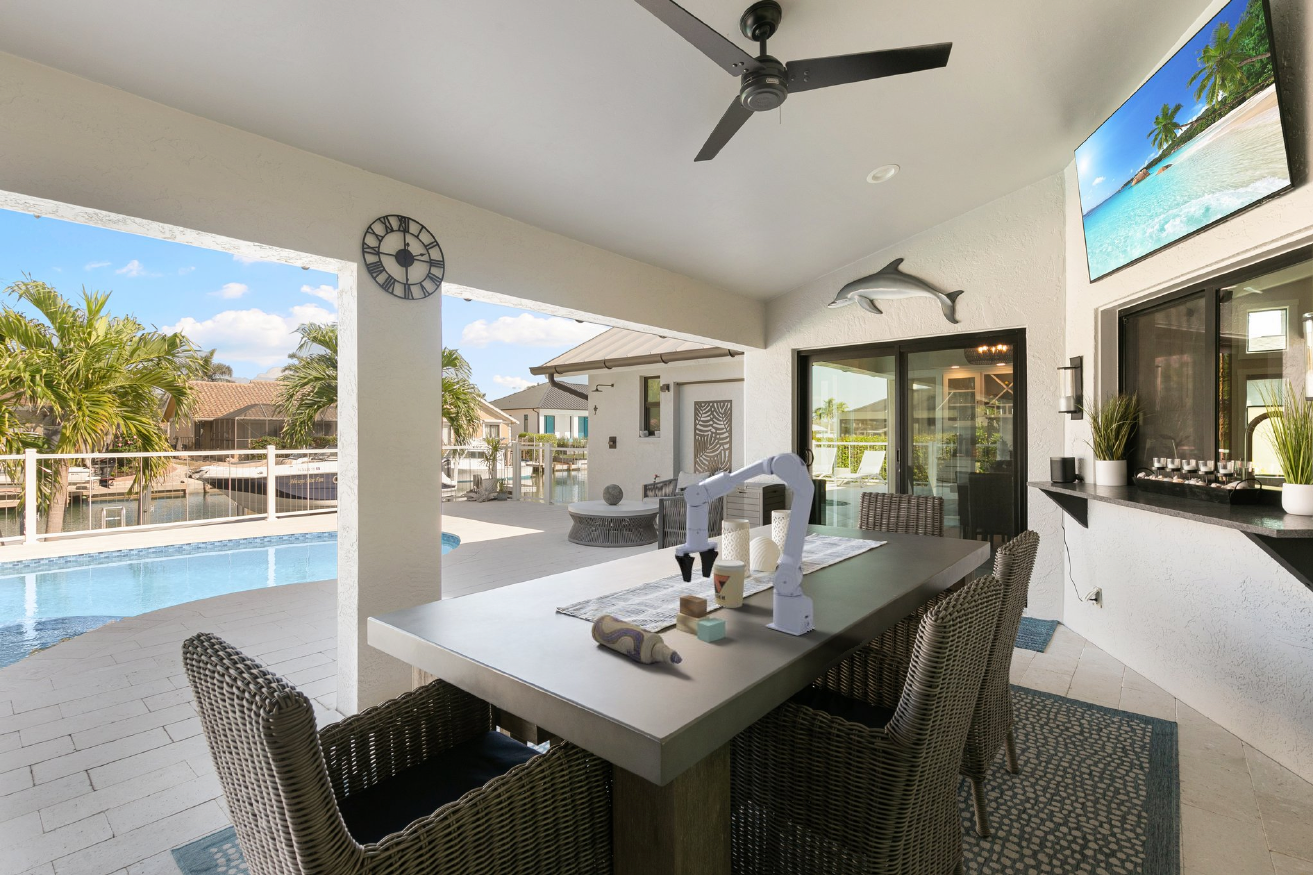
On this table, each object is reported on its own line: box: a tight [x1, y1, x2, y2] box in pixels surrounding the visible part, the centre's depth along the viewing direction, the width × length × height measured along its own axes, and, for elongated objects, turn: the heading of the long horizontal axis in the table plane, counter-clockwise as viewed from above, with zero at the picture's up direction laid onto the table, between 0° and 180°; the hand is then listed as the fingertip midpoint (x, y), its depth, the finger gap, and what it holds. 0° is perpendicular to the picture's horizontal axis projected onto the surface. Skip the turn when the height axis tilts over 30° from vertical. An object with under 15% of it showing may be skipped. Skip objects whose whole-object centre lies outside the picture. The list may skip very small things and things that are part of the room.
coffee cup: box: [712, 559, 747, 609], centre depth 172 cm, size 9×9×12 cm
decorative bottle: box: [591, 614, 683, 665], centre depth 129 cm, size 26×8×7 cm, turn 42°
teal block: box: [696, 617, 726, 643], centre depth 143 cm, size 6×4×4 cm, turn 132°
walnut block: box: [679, 594, 708, 618], centre depth 148 cm, size 6×4×4 cm, turn 42°
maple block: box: [675, 612, 711, 636], centre depth 148 cm, size 7×4×4 cm, turn 46°
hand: (696, 579), depth 160 cm, fingers open, 7 cm apart
